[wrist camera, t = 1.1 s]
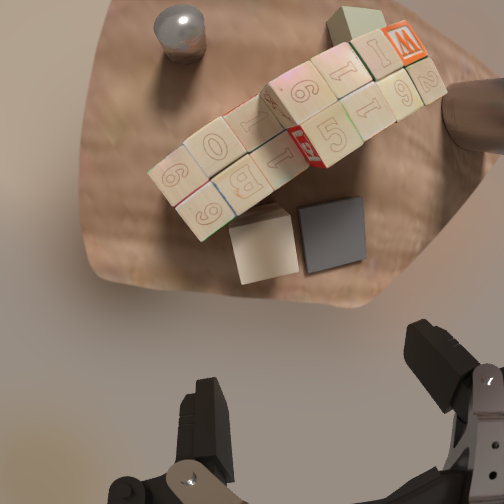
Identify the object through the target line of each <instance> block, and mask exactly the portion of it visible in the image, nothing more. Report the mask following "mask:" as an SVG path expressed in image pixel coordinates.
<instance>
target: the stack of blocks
mask: <svg viewBox="0 0 504 504" xmlns="http://www.w3.org/2000/svg"><path fill="white" fill-rule="evenodd" d="M447 93H448V92H447V89H446V87H445V85H444V83H443V81H442V79H441V77H440V75H439V73H438V71H437V69H436V67H435V65H434V63H433V61H432V59H431V58H430V57H428V53H427V51H426V49H425V48H424V46H423V44H422V43H421V41H420V40H419V38H418V36H417V35H416V33H415V32H414V30H413V29H412V28H411V26H410V25H409V23H408V22H407V21H406V20H404V21H401V22H398V23H395V24H392V25H389V26H386V27H383V28H381V29H376V30H374V31H371V32H369V33H366V34H364V35H362V36H359V37H357V38H355V39H353V40H351V41H349V42H348V43H347V42H343V43H341V44H338V45H336V46H334V47H332V48H330V49H328V50H326V51H324V52H322V53H320V54H318V55H316V56H314V57H313V58H311V59H310V60H308V61H306V62H304V63H302V64H300V65H298V66H296V67H294V68H293V69H291V70H289V71H287V72H286V73H284V74H282V75H280V76H279V77H277V78H275V79H274V80H272V81H270V82H269V83H268V84H267V85H266V86H265V87H264V89H263V90H262V91H261V92H260V93H259V94H257V95H255V96H254V97H252V98H250V99H249V100H247V101H245V102H244V103H242V104H241V105H239V106H237V107H236V108H234V109H233V110H231V111H230V112H228V113H226V114H225V115H223V116H219V117H218V118H216V119H215V120H213V121H212V122H210V123H209V124H207V125H206V126H204V127H203V128H201V129H200V130H198V131H197V132H196V133H194V134H193V135H192V136H190V137H189V138H188V139H186V140H185V141H184V142H183V144H182V145H181V146H180V147H179V148H177V149H176V150H175V151H173V152H172V153H171V154H169V155H168V156H167V157H165V158H164V159H163V160H162V161H160V162H159V163H158V164H156V165H155V166H154V167H153V168H152V169H150V170H149V171H148V172H147V173H148V175H149V176H150V177H151V179H152V180H153V181H154V183H155V184H156V185H157V187H158V188H159V189H160V191H161V192H162V193H163V195H164V196H165V197H166V199H167V200H168V201H169V203H170V204H171V205H172V206H173V207H174V208H175V209H176V211H177V212H178V213H179V215H180V216H181V217H182V219H183V220H184V221H185V223H186V224H187V225H188V226H189V227H190V229H191V230H192V232H193V233H194V234H195V235H196V237H197V238H198V239H199V240H200V241H201V242H202V241H204V240H205V239H207V238H208V237H209V236H211V235H212V234H214V233H215V232H216V231H218V230H219V229H220V228H222V227H223V226H225V225H226V224H227V223H229V222H230V221H231V220H233V219H234V218H235V217H236V216H239V215H241V214H242V213H244V212H245V211H247V210H248V209H249V208H251V207H252V206H254V205H255V204H257V203H258V202H259V201H261V200H262V199H264V198H265V197H266V196H268V195H269V194H271V193H272V192H273V191H275V190H277V189H279V188H280V187H281V186H283V185H285V184H286V183H287V182H289V181H290V180H292V179H293V178H294V177H296V176H297V175H299V174H300V173H302V172H303V171H305V170H306V169H307V168H308V167H309V166H310V165H311V166H312V167H319V168H325V169H327V168H329V167H331V166H332V165H333V164H335V163H336V162H338V161H339V160H341V159H342V158H344V157H345V156H347V155H348V154H350V153H351V152H353V151H354V150H356V149H357V148H359V147H360V146H362V145H363V144H364V142H365V141H367V140H369V139H370V138H372V137H374V136H375V135H377V134H378V133H380V132H381V131H383V130H384V129H386V128H387V127H389V126H391V125H392V124H394V123H398V122H400V121H401V120H403V119H405V118H406V117H408V116H409V115H411V114H413V113H414V112H416V111H418V110H419V109H421V108H422V107H423V106H426V105H429V104H430V103H432V102H434V101H435V100H437V99H439V98H440V97H442V96H444V95H446V94H447Z"/></svg>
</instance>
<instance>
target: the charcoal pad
mask: <svg viewBox="0 0 504 504" xmlns="http://www.w3.org/2000/svg"><path fill="white" fill-rule="evenodd" d="M297 210H298V216H299V223H300V229H301V236H302V243H303V250H304V257H305V265H306V271H307V272H308V273H312V272H316V271H320V270H324V269H328V268H332V267H336V266H340V265H344V264H348V263H351V262H355V261H359V260H363V259H367V258H366V238H365V223H364V211H363V200H362V197H360V196H356V197H351V198H345V199H340V200H335V201H330V202H325V203H319V204H314V205H309V206H304V207H299V208H297Z"/></svg>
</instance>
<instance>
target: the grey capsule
mask: <svg viewBox="0 0 504 504" xmlns="http://www.w3.org/2000/svg"><path fill="white" fill-rule="evenodd" d="M154 33H155V35H156V37H157V38H158V40H159V42H160V44H161V46H162V47H163V49H164V51H165V53H166V55H167V56H168V58H169V59H170V60H171V61H172V62H174V63H177V64H181V65H185V64H191V63H193V62H196V61H197V60H199V59H200V58H201V57H202V56H203V55H204V53H205V51H206V46H207V44H206V35H205V25H204V17H203V15H202V13H201V12H200V10H198V9H197V8H195V7H193V6H191V5H175V6H172V7H169V8H167V9H166V10H164V11H163V12H162V13H160V14H159V16H158V17H157V18H156V20H155V23H154Z"/></svg>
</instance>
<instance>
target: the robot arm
mask: <svg viewBox="0 0 504 504" xmlns="http://www.w3.org/2000/svg"><path fill="white" fill-rule="evenodd" d="M447 92H448V93H447V94H446V95H444V96H443V102H442V110H443V117H444V122H445V125H446V128H447V130H448V132H449V134H450V136H451V138H452V139H453V141H454V142H455V143H456V144H457V145H458V146H460V147H461V148H463V149H466V150H473V151H481V152H487V153H494V154H500V155H504V78H495V79H484V80H474V81H467V82H460V83H454V84H451V85H450V86H449V87H448V88H447ZM404 359H405V361H406V363H407V365H408V366H409V368H410V369H411V370H412V371H413V373H414V374H415V375H416V377H417V378H418V379H419V380H420V382H421V383H422V385H423V386H424V387H425V388H426V390H427V391H428V392H429V394H430V395H431V397H432V398H433V399H434V401H435V402H436V403H437V405H438V406H439V408H440V409H441V410H442V412H443V413H444V414H445V413H447V412H449V411H451V410H452V409H453V410H454V411H455V414H454V419H453V429H452V437H451V444H450V450H449V454H448V457H447V460H446V462H445V465H444V468H443V470H442V471H438V470H437V468H436V467H433V468H432V469H430V470H428V471H426V472H424V473H423V474H421V475H419V476H417V477H415V478H413V479H411V480H410V481H408V482H407V483H406V484H404V485H403V486H402V487H400V488H399V489H398V490H396V491H395V492H393V493H392V494H391V495H389V496H388V497H387V498H384V499H380V500H375V501H368V502H362V503H355V504H504V367H503V368H498V367H497V366H495V365H493V364H488V363H486V364H480V363H479V362H478V361H477V360H476V359H475V358H474V357H473V356H472V355H471V354H470V353H469V352H468V351H467V350H466V349H465V348H464V347H463V346H462V345H460V344H459V342H458V341H457V340H456V339H454V338H453V336H451V335H450V334H449V333H448V332H447V331H446V330H444V329H442V328H440V327H438V326H435V327H433V326H432V325H431V324H430V323H429V322H428V321H427V320H425V319H421V320H419V321H417V322H414V323H411V324H409V325H408V327H407V332H406V339H405V346H404ZM179 416H180V418H179V427H178V439H177V451H176V461H175V463H174V465H172V466H171V467H170V469H169V470H168V472H167V473H165V474H164V475H162V476H159V477H156V478H152V479H149V480H145V481H139V480H138V479H136V478H134V477H129V476H126V477H121V478H118V479H117V480H115V481H114V482H113V483H112V485H111V486H110V488H109V494H108V503H107V504H248V503H247V502H245V501H243V500H241V499H240V498H239V497H238V496H236V494H234V493H233V492H232V491H231V490H230V489H229V488H227V483H231V482H235V481H234V470H233V459H232V447H231V435H230V422H229V411H228V407H227V403H226V400H225V398H224V395H223V393H222V390H221V388H220V385H219V383H218V380H217V378H216V377H212V378H206V379H200V380H197V381H196V393H193V394H187V395H186V396H185V398H184V399H183V401H182V403H181V405H180V414H179Z"/></svg>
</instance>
